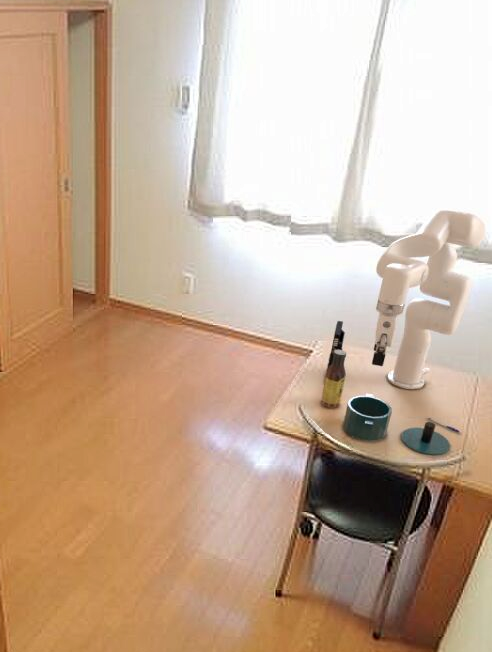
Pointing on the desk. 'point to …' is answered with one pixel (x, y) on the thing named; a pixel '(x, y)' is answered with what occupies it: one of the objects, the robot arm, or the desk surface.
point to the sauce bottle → (334, 380)
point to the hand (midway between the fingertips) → (378, 357)
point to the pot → (367, 417)
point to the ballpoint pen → (445, 425)
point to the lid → (426, 440)
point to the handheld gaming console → (336, 341)
